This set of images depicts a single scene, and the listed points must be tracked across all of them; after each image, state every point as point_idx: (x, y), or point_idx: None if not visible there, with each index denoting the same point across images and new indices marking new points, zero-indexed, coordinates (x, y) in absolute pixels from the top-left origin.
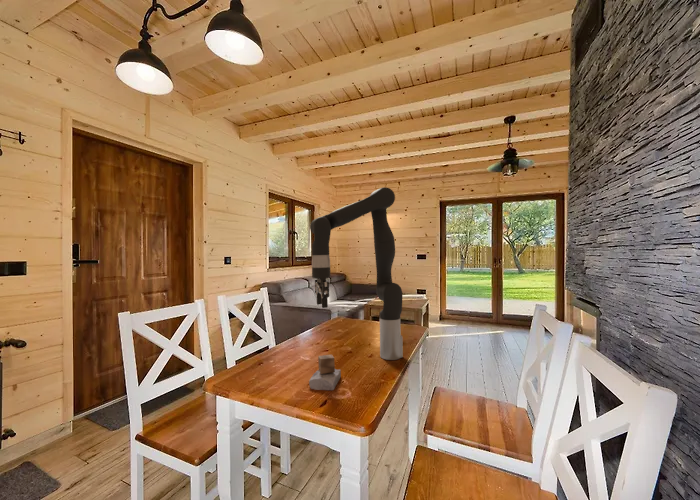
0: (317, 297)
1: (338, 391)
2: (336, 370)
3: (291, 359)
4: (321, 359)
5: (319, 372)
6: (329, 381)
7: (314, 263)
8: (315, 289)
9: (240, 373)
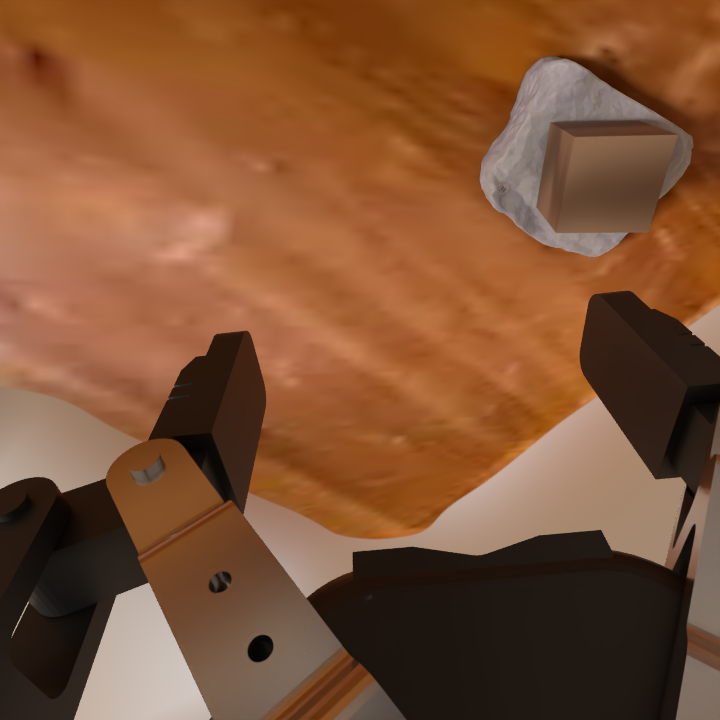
0: (249, 480)
1: (699, 110)
2: (576, 93)
3: (211, 309)
4: (649, 226)
5: (521, 196)
6: (688, 165)
7: None
8: (81, 660)
9: (338, 479)
